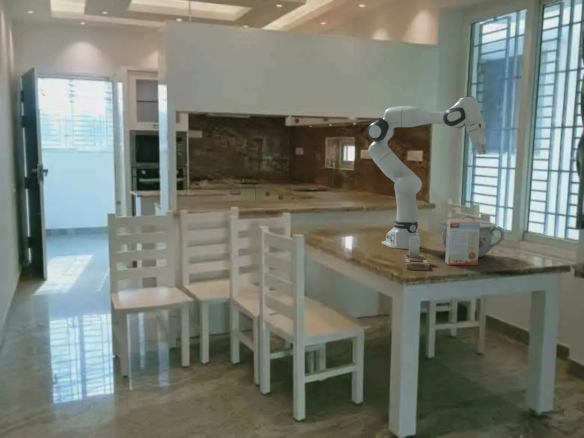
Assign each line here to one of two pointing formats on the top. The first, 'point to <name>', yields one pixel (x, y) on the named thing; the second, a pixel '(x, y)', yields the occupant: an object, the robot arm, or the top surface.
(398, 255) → the top surface
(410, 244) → the peg
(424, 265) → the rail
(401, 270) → the top surface
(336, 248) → the top surface
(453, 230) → the cracker box
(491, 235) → the chamber pot
